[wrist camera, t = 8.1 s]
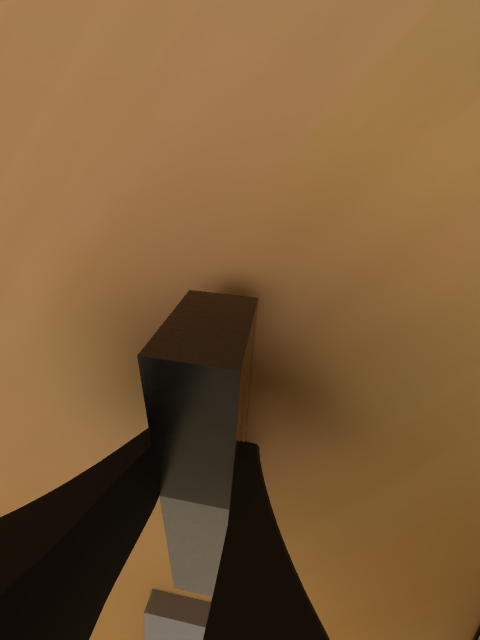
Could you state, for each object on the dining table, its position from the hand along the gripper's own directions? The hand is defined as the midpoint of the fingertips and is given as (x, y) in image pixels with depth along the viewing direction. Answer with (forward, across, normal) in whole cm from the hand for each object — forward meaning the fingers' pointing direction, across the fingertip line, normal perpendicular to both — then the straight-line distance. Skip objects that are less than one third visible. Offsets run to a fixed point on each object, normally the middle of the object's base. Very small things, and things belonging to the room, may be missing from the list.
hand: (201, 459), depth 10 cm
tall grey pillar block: (+4, 0, +1) cm, 4 cm away
